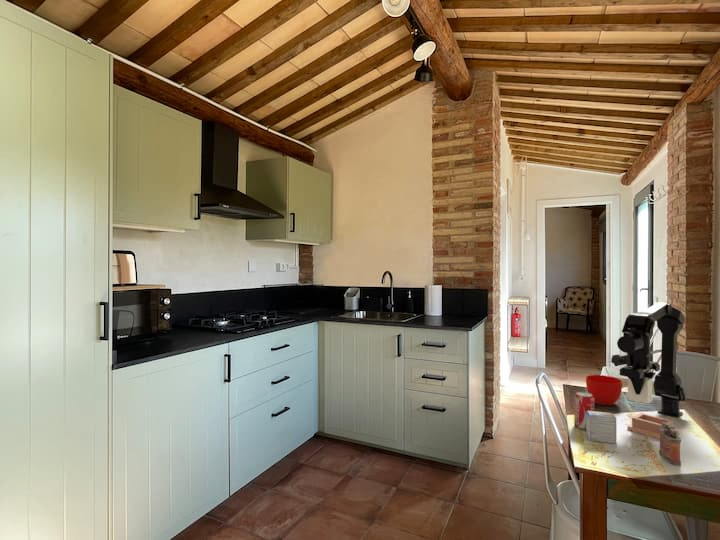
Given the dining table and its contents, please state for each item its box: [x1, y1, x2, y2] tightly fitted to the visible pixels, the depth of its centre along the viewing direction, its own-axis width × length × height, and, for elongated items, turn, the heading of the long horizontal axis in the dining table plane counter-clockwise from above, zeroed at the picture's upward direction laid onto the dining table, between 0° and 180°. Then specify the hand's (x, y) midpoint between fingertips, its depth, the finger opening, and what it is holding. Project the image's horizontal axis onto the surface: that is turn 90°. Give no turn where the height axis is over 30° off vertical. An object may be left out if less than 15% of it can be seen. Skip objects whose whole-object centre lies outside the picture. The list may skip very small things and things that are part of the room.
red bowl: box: [585, 374, 623, 406], centre depth 167 cm, size 13×17×10 cm
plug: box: [627, 377, 653, 404], centre depth 139 cm, size 4×6×8 cm, turn 35°
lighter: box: [658, 422, 682, 467], centre depth 117 cm, size 8×3×10 cm, turn 168°
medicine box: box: [586, 410, 618, 444], centre depth 130 cm, size 8×4×9 cm, turn 71°
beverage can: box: [573, 391, 595, 431], centre depth 140 cm, size 6×6×12 cm
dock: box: [627, 412, 680, 440], centre depth 136 cm, size 10×12×4 cm
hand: (640, 393), depth 139 cm, fingers closed on plug, 4 cm apart
